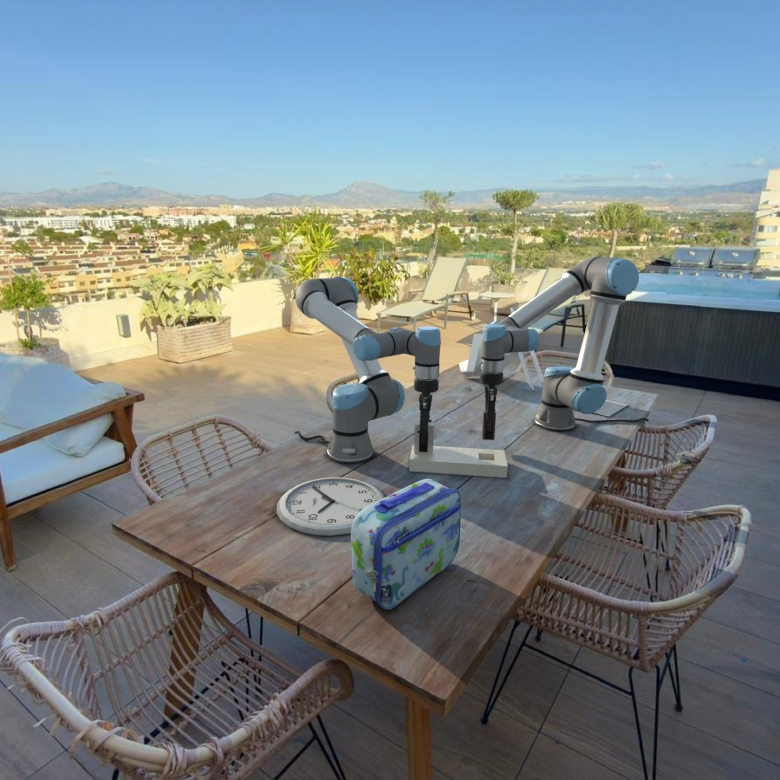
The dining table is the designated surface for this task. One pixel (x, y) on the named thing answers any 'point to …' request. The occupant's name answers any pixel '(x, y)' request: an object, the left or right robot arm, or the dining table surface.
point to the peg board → (456, 459)
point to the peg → (484, 425)
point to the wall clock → (326, 505)
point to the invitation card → (610, 408)
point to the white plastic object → (474, 368)
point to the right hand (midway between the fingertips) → (488, 435)
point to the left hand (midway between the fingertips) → (423, 446)
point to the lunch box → (405, 541)
